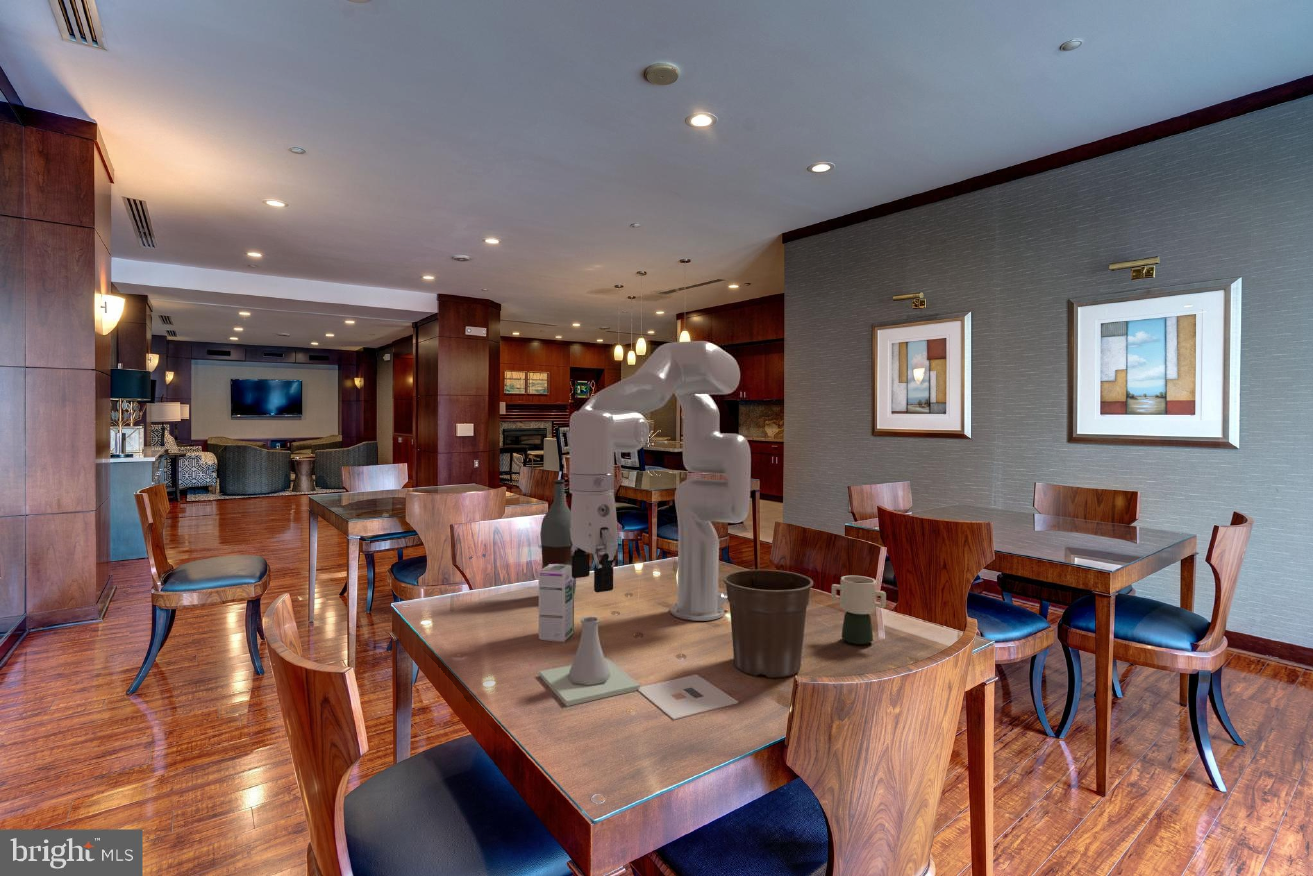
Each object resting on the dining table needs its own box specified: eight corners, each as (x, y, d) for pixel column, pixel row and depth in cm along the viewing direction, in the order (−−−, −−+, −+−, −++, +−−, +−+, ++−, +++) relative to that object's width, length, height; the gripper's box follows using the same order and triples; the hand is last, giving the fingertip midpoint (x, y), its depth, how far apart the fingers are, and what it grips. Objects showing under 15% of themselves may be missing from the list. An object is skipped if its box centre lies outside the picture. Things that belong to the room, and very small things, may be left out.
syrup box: (564, 642, 122) (565, 570, 121) (537, 640, 123) (538, 569, 123) (574, 633, 127) (575, 564, 127) (547, 630, 128) (548, 562, 128)
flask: (568, 669, 106) (569, 613, 106) (609, 668, 107) (610, 612, 107) (566, 687, 99) (567, 626, 99) (611, 686, 100) (611, 625, 99)
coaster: (607, 662, 112) (607, 658, 112) (640, 689, 100) (640, 684, 100) (539, 675, 105) (539, 671, 105) (566, 706, 94) (566, 701, 94)
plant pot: (703, 660, 113) (705, 575, 113) (764, 643, 123) (765, 564, 123) (768, 692, 100) (770, 595, 100) (829, 670, 110) (831, 582, 110)
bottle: (577, 603, 149) (579, 481, 148) (539, 604, 147) (541, 481, 147) (574, 592, 158) (576, 478, 158) (538, 594, 156) (540, 478, 156)
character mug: (888, 642, 125) (889, 579, 125) (881, 652, 119) (882, 587, 119) (835, 632, 131) (836, 572, 130) (825, 641, 125) (827, 579, 124)
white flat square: (696, 675, 106) (696, 674, 106) (738, 703, 96) (738, 701, 96) (636, 689, 100) (636, 687, 100) (673, 720, 90) (673, 718, 90)
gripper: (635, 487, 97) (634, 593, 97) (591, 478, 112) (591, 569, 112) (591, 490, 93) (591, 600, 93) (553, 479, 108) (553, 574, 108)
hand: (591, 583), depth 103 cm, fingers open, 9 cm apart
